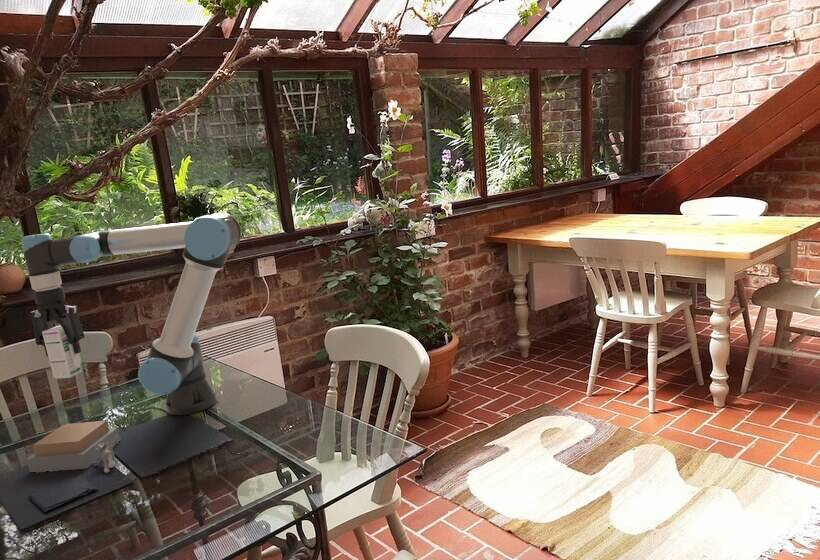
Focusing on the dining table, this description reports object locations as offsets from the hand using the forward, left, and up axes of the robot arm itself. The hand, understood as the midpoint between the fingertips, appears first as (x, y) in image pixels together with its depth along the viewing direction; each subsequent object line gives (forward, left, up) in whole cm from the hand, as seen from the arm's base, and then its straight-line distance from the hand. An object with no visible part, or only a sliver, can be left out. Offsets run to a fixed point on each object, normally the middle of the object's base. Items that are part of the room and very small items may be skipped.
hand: (66, 365), depth 182 cm
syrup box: (0, 0, -3) cm, 3 cm away
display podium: (-8, +15, -22) cm, 28 cm away
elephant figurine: (-22, +22, -22) cm, 38 cm away
